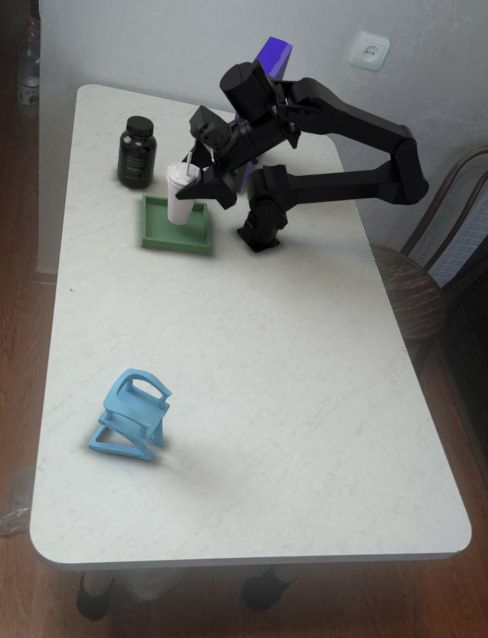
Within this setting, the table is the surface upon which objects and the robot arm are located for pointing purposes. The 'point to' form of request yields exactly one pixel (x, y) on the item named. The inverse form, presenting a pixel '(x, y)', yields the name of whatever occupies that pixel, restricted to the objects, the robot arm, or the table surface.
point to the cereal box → (274, 65)
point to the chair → (133, 415)
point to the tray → (174, 228)
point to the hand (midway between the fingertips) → (175, 185)
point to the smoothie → (178, 179)
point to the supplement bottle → (137, 153)
